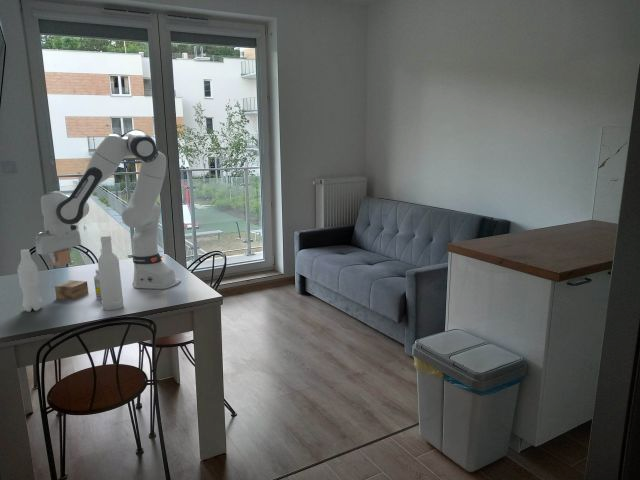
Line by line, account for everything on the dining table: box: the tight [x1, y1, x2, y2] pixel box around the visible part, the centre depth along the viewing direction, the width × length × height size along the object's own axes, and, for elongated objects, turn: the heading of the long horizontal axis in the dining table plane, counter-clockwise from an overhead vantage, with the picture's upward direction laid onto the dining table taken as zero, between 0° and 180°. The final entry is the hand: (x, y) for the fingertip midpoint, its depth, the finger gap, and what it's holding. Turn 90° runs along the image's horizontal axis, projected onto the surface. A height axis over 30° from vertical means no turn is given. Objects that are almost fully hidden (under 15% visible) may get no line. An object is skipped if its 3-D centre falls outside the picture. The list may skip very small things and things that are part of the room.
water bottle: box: [16, 249, 44, 313], centre depth 193 cm, size 7×7×25 cm
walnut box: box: [54, 280, 89, 301], centre depth 211 cm, size 9×9×6 cm
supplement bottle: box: [93, 268, 102, 300], centre depth 208 cm, size 7×7×13 cm
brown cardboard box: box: [50, 249, 72, 267], centre depth 210 cm, size 6×6×6 cm
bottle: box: [97, 234, 124, 311], centre depth 194 cm, size 8×8×30 cm
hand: (61, 259), depth 210 cm, fingers closed on brown cardboard box, 5 cm apart
